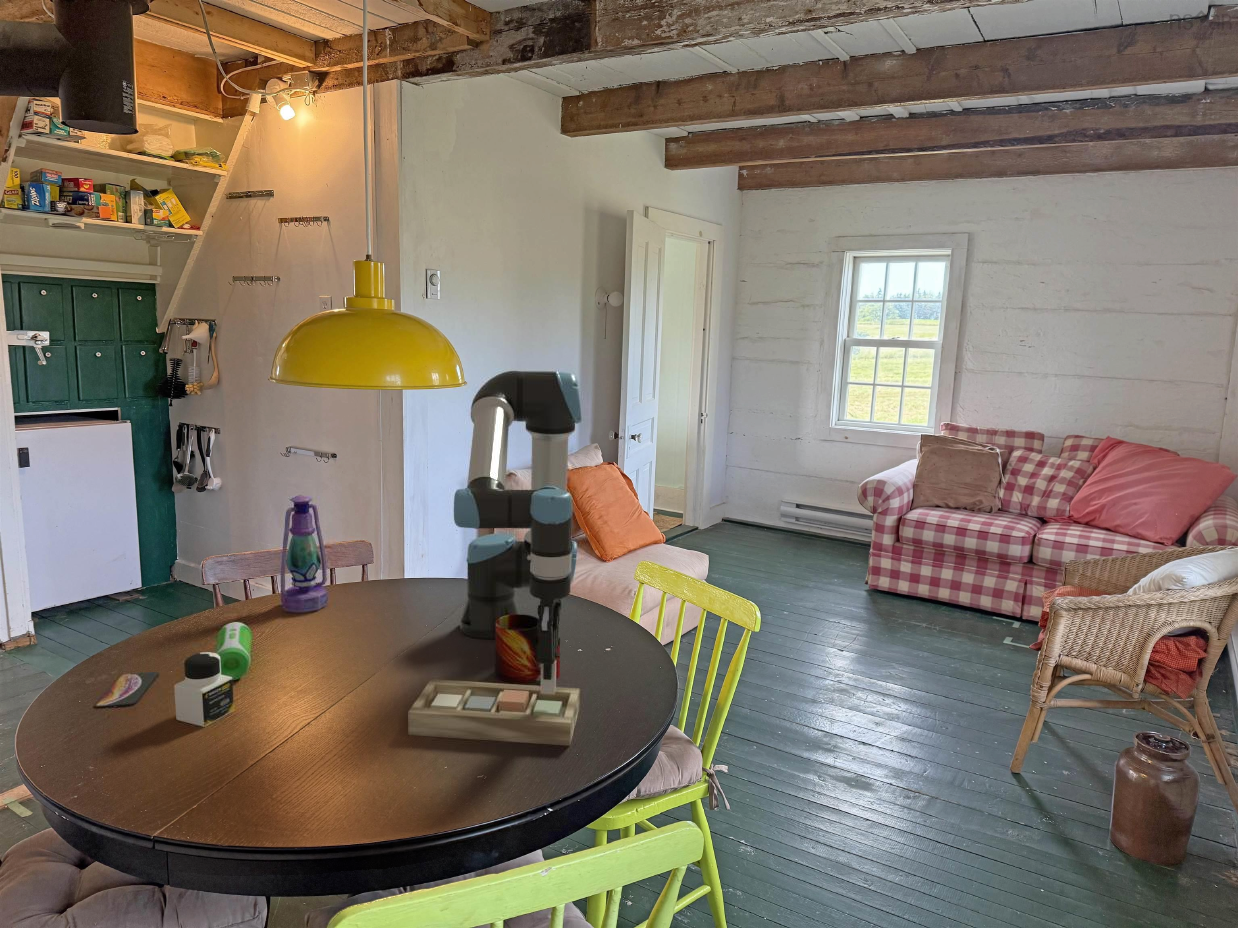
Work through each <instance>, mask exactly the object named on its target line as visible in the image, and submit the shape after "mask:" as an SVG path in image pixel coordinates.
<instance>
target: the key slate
mask: <svg viewBox="0 0 1238 928" xmlns="http://www.w3.org/2000/svg"><path fill="white" fill-rule="evenodd" d="M495 702H496V697H482V696H471V697H470V699H469V701H468V703H467V704H466V706H465V711H480V712H491V710H492V708H493V706H494V704H495Z"/></svg>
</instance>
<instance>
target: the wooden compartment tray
mask: <svg viewBox="0 0 1238 928" xmlns="http://www.w3.org/2000/svg"><path fill="white" fill-rule="evenodd" d="M540 687H541V685H530V684H529V685H527V684H508V683H497V682H495V683H494V682H481V681H480V682H479V681H468V680H467V681H465V680H451V679H448V680H447V679H435V678H434V679H432V678H431V679H430V680H429V681H428V683H427V684H426V686H425V687H424V688H423V690H422V692H421V693H420V695H419V696H418V697H417V699H416V700H415V701H414V702H413V704H412V706H411V708H410V709H409V710H408V712H407V713H408V715H407V716H408V717H407V720H408V725H407V727H408V730H407V731H408V735H409V736H419V737H434V738H435V737H437V738H452V739H465V740H466V739H467V740H479V741H492V742H493V741H497V742H509V743H510V742H512V743H523V744H524V743H525V744H526V743H527V744H540V745H552V746H553V745H554V746H567V747H570V746H571V744H572V739H573V735H574V732H575V727H576V724H577V719H578V716H579V712H580V696H581V695H580V692H581V688H576V687H559V686H556V691H555V695H554V694H540ZM504 690H517V691H529V702H528V704H527V707H526V709H525V712H524V713H522V712H507V711H499V700H500V698H501V696H502V694H503V692H504ZM438 694H451V695H463V699H462V701H461V703H460V704H459V706H458V708H457V710H449V709H434V708H431V704H432V703H433V701H434V700H435V698H436V697H437V695H438ZM471 696H482V697H496V702H495V704H494V706H493V708H492V710H491V712H480V711H465V706H466V704H467V703H468V701H469V699H470V697H471ZM537 700H544V701H560V702H562V713H561V716H560V717H557V716H541V715H533V711H534V708H535V705H536V703H537Z"/></svg>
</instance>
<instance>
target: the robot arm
mask: <svg viewBox="0 0 1238 928" xmlns="http://www.w3.org/2000/svg"><path fill="white" fill-rule="evenodd" d="M579 389H580V388H579V384H578V379H577V376H576V375H575V374H573V373H571V372H563V371H562V372H561V371H557V370H556V371H549V370H548V371H547V370H546V371H544V370H543V371H540V370H538V371H537V370H536V371H535V370H534V371H533V370H532V371H527V370H524V371H522V370H519V371H518V370H510V371H503V372H501V373H498V374H497V375H494V376H493V377H491V378H490V379H489V380H487V381H486V382H485V383H484V384H483V385H481V387H480V388H479V390H478V391H477V393H476V394H475V395H474V398H473V399H472V401H471V402H472V403H471V406H470V415H469V416H470V419H471V421H472V423H473V430H472V437H471V438H472V440H471V448H470V455H469V456H470V458H469V466H468V475H467V476H468V477H467V485H466V487H465V488H460V489H456V491H455V493H454V495H453V496H454V497H453V521H454V524H455V525H456V526H457V527H458V528H464V529H475V530H478V529H526V532H525V533H524V536H523V540H517V538H516V536H515V535H514V534H512V533H505V532H504V533H503V532H499V533H497V532H496V533H491V534H486V535H481V536H479V537H476V538H475V539H473V540H471V541H470V543H469V544H468V545H467V554H466V555H467V557H466V563H467V574H466V576H467V579H466V580H467V581H466V583H467V584H466V585H467V586H466V587H467V589H466V590H467V592H466V594H467V595H466V598H467V599H466V601H465V604H464V607H463V610H462V613H461V615H460V616H461V617H460V620H459V630H460V632H461V633H462V634H464V635H466V636H468V637H472V638H475V639H486V640H488V639H489V640H493V639H494V640H495V624H496V620H497V619H499V618H501V617H503V616H507V615H513V614H521V613H520V611H519V607H518V603H517V600H516V597H515V593H516V592H515V590H516V589H529V594H530V595H531V596H532V597H534V598H537V599H539V600H540V601H539V604H538V605H537V616H538V619H539V620H538V622H537V625H538V635H539V658H538V659H537V662H538V663H540V667H541V675H540V686H541V687H540V694H554V695H555V691H556V687H557V678H556V659H555V658H561V652H560V653H557V650H558V638H559V635H560V631H559V630H560V621H561V609H562V604H563V603H562V599H564V598H567V597H568V596H569V595H570V593H571V585H572V583H573V580H574V577H575V571H576V566H577V555H578V543H577V542H576V541H575V540H573V537H572V534H573V533H572V530H573V529H572V528H573V514H574V509H573V496H572V494H571V493H570V492H568V460H569V459H568V458H569V438H570V436H571V435H572V434H573V433H574V432H575V431H576V424H579V423H581V422H582V421H583V420H582V407H581V398H580V390H579ZM513 422H521V423H523V422H524V423H525V430H526V432H528V433H529V434H530V436H531V478H530V479H531V482H530V486H531V487H530V489H507V488H506V485H507V484H506V482H507V481H506V480H507V462H508V446H509V428H510V426H511V425H512V424H513ZM527 529H529V530H528V531H527Z"/></svg>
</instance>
